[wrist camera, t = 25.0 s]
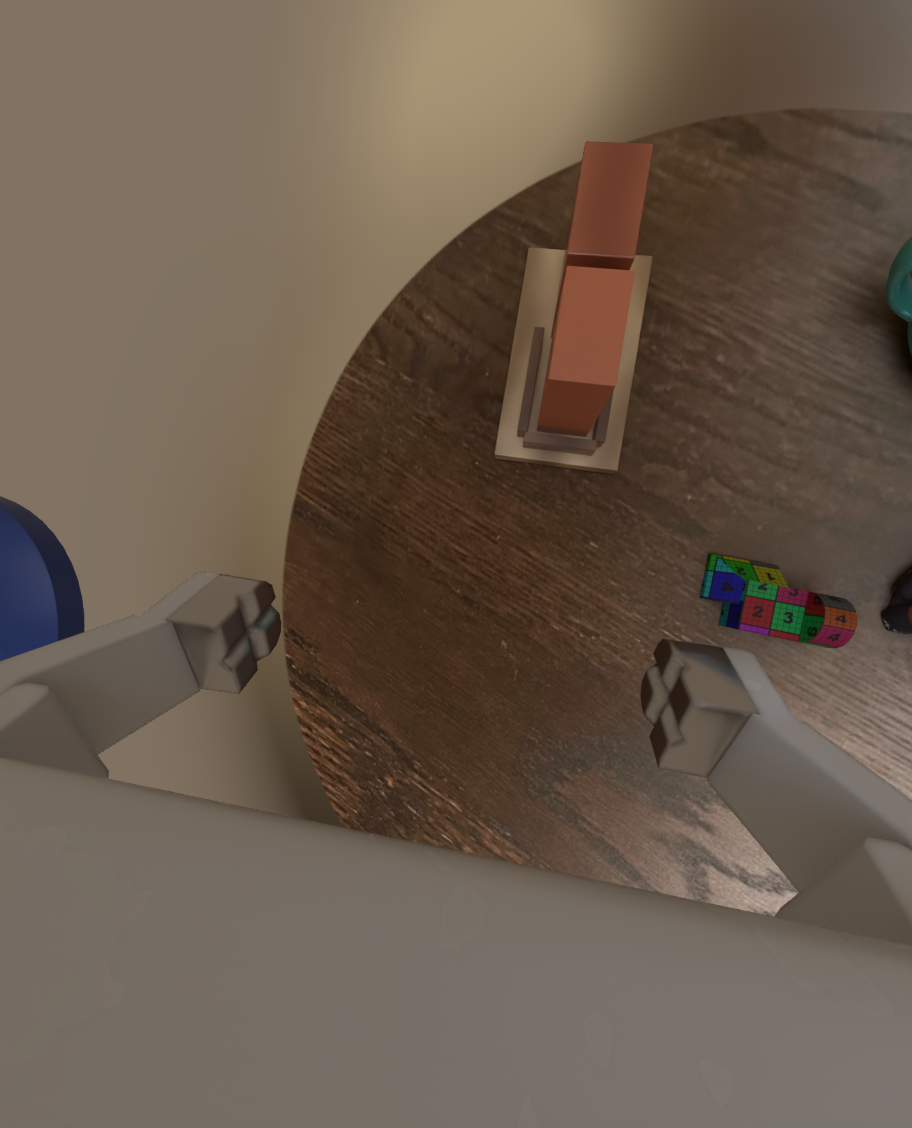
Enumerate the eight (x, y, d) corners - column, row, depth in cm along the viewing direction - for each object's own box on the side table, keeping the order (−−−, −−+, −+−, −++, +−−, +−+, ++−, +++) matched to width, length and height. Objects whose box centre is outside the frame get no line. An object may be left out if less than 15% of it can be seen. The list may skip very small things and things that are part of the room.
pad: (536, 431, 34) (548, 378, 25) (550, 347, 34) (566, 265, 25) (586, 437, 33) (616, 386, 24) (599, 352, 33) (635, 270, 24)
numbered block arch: (816, 573, 32) (867, 573, 27) (802, 642, 32) (851, 653, 27) (708, 553, 33) (741, 550, 28) (695, 619, 33) (725, 626, 28)
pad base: (494, 458, 35) (490, 411, 25) (528, 258, 35) (537, 130, 25) (613, 474, 34) (660, 431, 24) (647, 266, 34) (708, 136, 24)
